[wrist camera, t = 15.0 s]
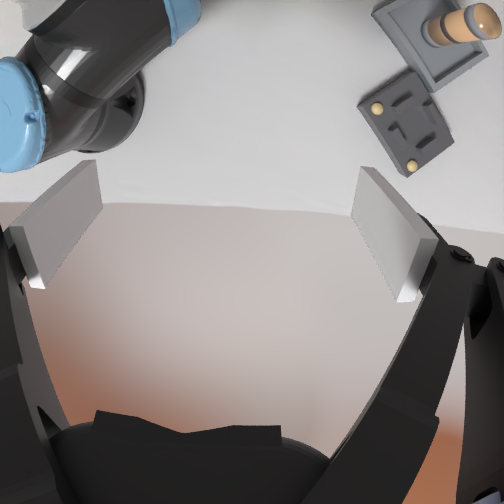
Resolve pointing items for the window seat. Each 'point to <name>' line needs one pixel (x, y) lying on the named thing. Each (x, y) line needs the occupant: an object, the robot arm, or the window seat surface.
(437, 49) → the parts tray
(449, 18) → the fuse
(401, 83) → the fuse holder
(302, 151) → the window seat surface
